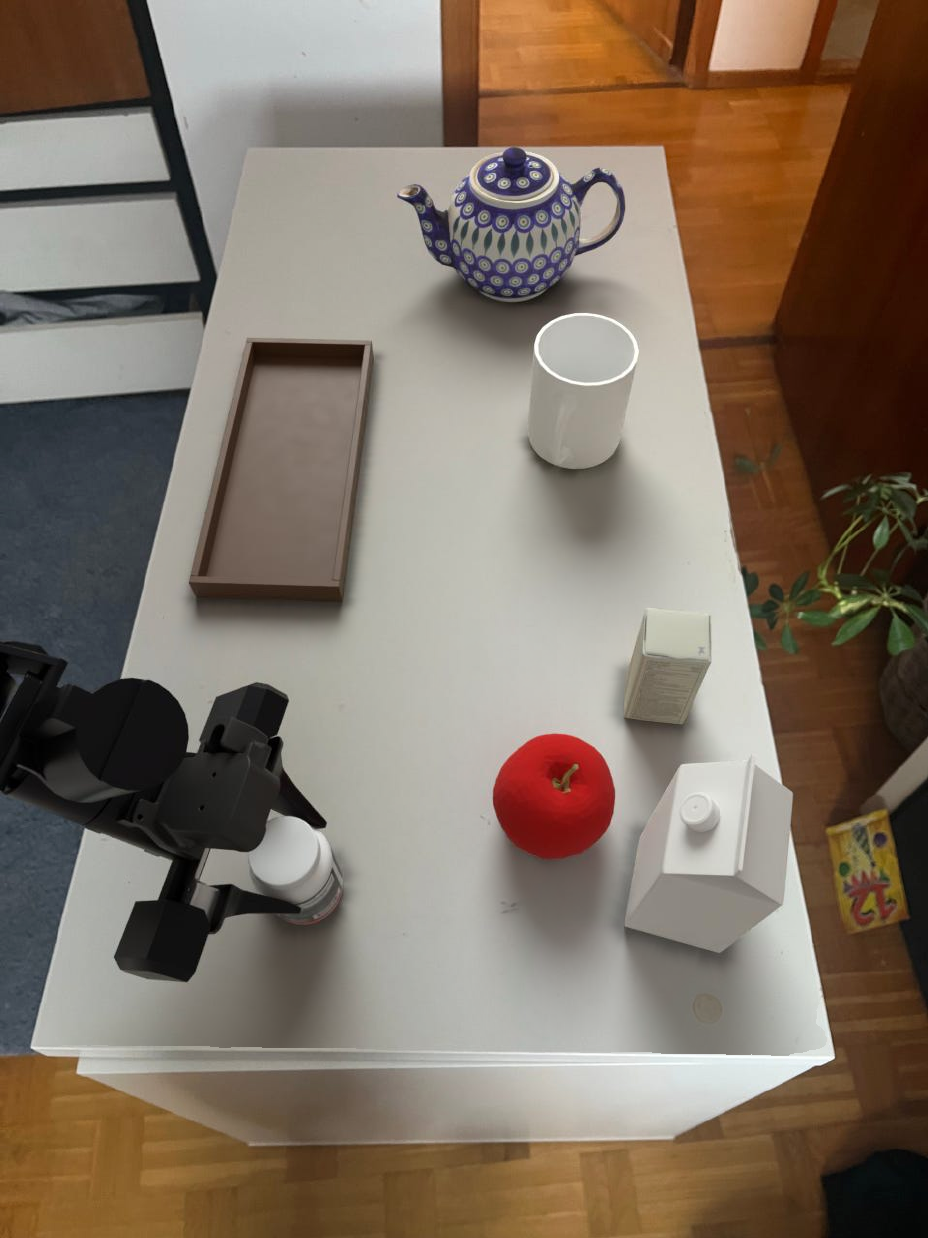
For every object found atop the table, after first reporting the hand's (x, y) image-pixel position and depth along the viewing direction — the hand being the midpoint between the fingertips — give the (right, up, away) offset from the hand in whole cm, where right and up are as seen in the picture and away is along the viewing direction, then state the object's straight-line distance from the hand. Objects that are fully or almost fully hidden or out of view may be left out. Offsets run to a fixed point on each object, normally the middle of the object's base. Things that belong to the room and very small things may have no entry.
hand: (310, 868), depth 61 cm
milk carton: (+27, -4, +6) cm, 28 cm away
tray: (-6, +32, +27) cm, 43 cm away
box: (+27, +10, +14) cm, 32 cm away
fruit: (+17, +2, +9) cm, 20 cm away
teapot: (+16, +58, +43) cm, 73 cm away
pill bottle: (-1, -3, +6) cm, 7 cm away
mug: (+22, +35, +29) cm, 50 cm away
